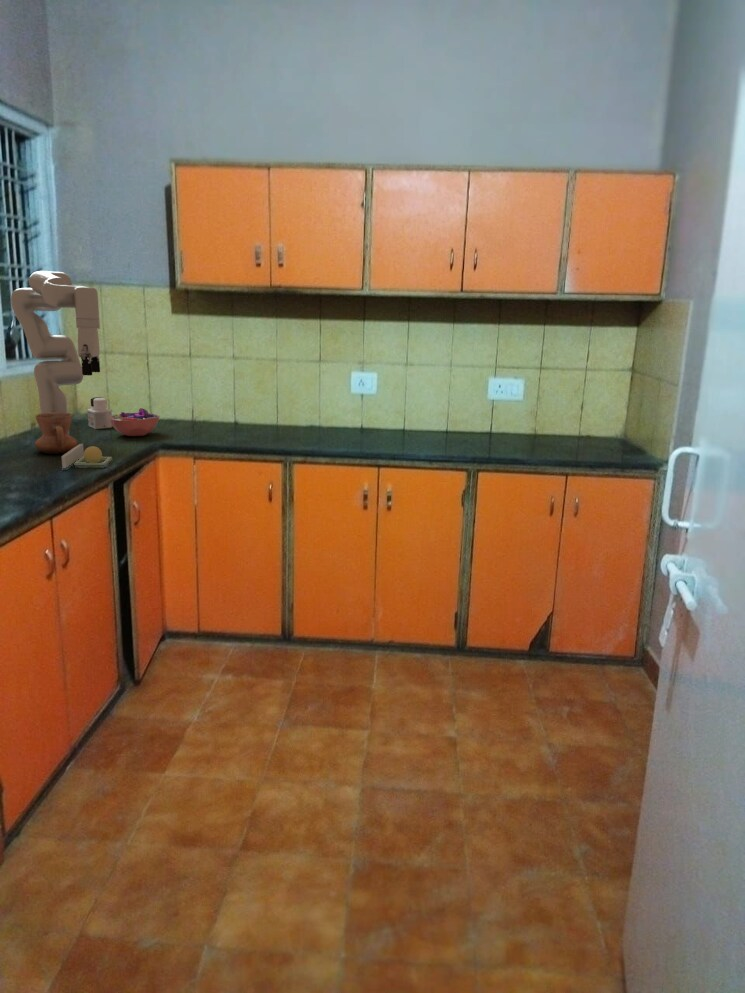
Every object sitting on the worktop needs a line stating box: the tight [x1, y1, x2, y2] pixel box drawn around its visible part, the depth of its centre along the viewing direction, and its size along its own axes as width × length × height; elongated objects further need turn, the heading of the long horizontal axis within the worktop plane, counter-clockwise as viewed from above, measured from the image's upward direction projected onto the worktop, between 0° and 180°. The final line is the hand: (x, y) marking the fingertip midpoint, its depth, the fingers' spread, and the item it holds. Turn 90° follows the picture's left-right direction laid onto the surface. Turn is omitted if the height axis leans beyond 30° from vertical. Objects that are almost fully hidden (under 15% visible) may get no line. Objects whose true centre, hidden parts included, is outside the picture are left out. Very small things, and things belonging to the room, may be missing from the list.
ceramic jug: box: [34, 412, 78, 455], centre depth 253 cm, size 18×14×14 cm
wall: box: [61, 443, 85, 469], centre depth 239 cm, size 20×1×5 cm, turn 6°
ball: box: [84, 445, 103, 463], centre depth 238 cm, size 6×6×6 cm
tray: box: [73, 456, 113, 466], centre depth 239 cm, size 10×10×2 cm
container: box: [86, 396, 113, 430], centre depth 302 cm, size 8×8×13 cm
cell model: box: [110, 408, 161, 437], centre depth 288 cm, size 17×20×11 cm
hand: (91, 373), depth 242 cm, fingers open, 9 cm apart
